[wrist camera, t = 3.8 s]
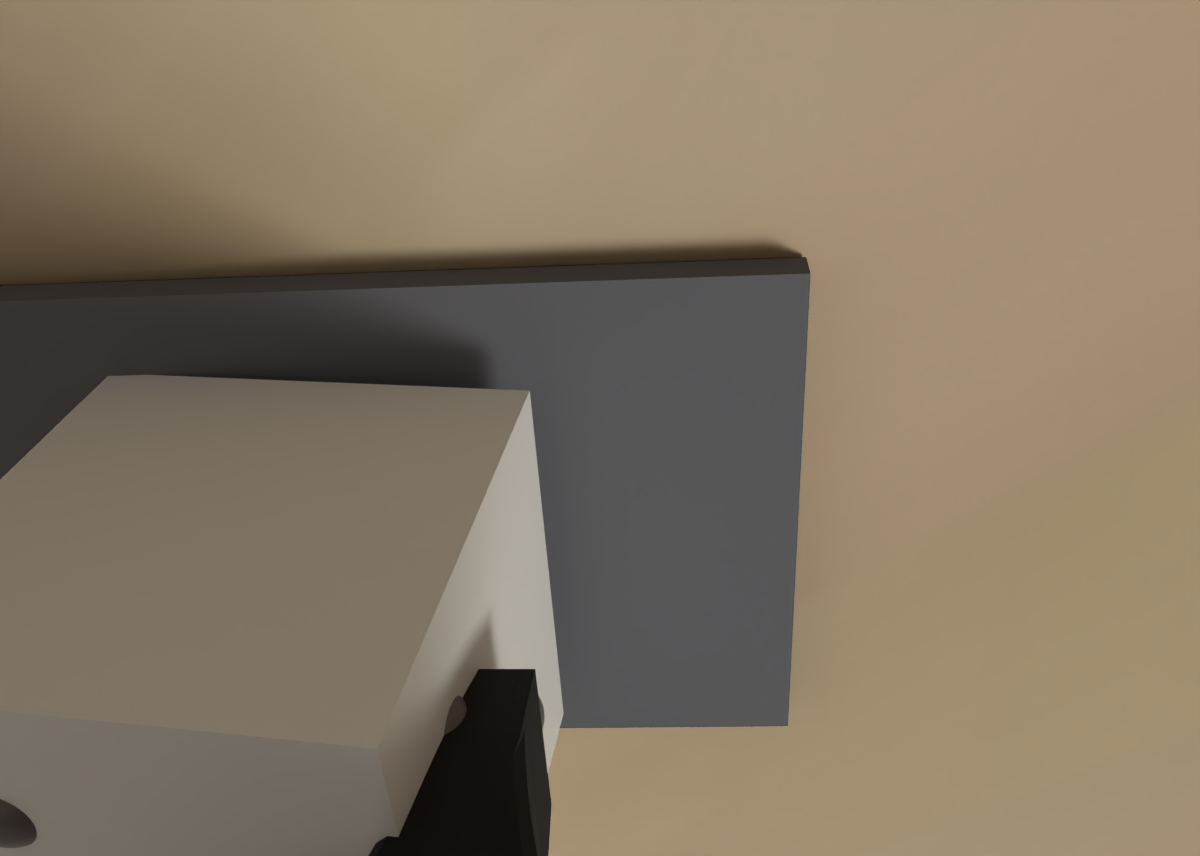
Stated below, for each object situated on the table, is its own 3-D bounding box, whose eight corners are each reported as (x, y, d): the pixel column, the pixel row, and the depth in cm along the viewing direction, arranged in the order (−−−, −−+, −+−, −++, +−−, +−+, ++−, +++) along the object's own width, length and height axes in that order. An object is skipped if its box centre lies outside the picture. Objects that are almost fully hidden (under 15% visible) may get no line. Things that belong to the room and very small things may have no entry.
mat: (784, 704, 16) (788, 726, 16) (-85, 713, 17) (-99, 733, 17) (806, 257, 12) (809, 273, 12) (-320, 296, 13) (-344, 313, 13)
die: (575, 722, 15) (474, 1130, 11) (207, 688, 16) (-20, 1052, 12) (543, 391, 12) (391, 766, 8) (98, 372, 13) (-249, 701, 9)
